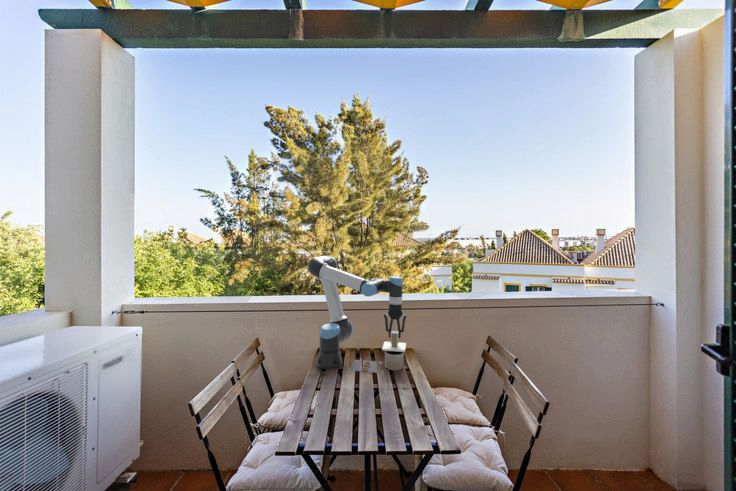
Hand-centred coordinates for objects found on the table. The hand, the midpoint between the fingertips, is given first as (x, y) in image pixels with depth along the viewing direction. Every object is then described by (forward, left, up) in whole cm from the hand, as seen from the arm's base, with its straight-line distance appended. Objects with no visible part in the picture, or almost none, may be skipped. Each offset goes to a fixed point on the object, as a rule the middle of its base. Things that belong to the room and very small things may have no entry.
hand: (394, 343), depth 216 cm
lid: (0, 0, -3) cm, 3 cm away
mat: (-16, -2, -15) cm, 22 cm away
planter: (0, 0, -15) cm, 15 cm away
